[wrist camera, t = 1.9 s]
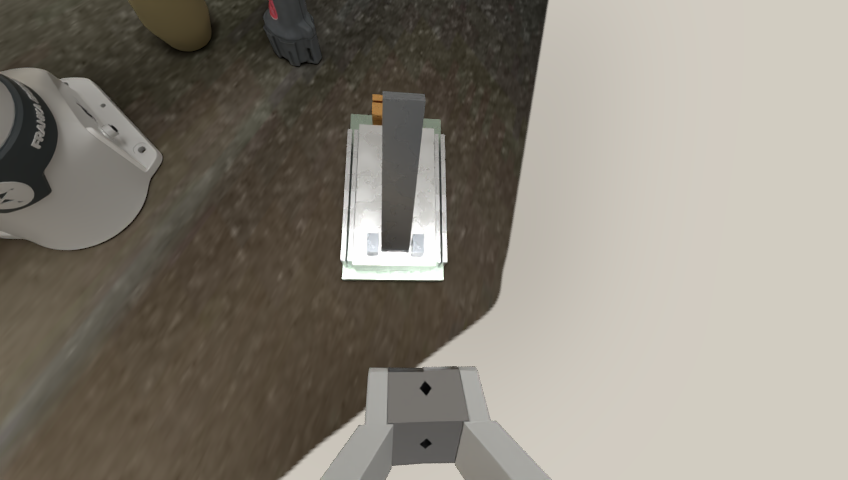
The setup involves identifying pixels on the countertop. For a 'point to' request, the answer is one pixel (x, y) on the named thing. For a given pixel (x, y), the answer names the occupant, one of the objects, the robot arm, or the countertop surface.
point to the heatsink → (366, 206)
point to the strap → (400, 165)
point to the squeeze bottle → (176, 21)
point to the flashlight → (292, 31)
